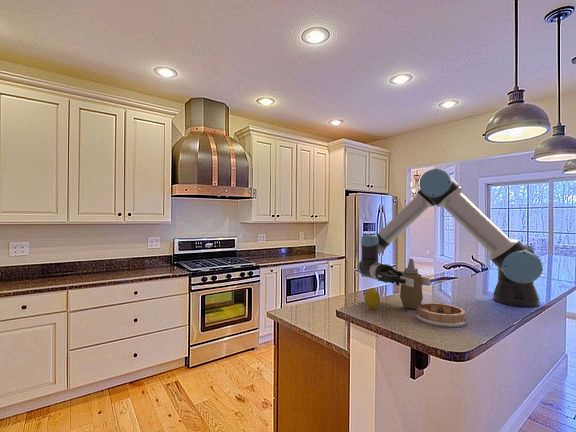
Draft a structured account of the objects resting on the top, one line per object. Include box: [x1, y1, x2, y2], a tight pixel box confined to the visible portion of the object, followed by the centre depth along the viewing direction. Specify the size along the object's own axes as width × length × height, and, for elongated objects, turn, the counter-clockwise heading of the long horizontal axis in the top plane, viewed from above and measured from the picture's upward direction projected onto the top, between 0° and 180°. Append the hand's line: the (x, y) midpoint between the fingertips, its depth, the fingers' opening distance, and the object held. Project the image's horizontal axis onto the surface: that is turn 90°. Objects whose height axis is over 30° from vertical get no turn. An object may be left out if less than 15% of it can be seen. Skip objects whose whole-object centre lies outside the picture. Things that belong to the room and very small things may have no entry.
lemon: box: [364, 287, 381, 310], centre depth 114 cm, size 6×6×8 cm
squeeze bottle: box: [399, 258, 424, 310], centre depth 116 cm, size 8×8×18 cm
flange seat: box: [415, 302, 467, 329], centre depth 102 cm, size 15×15×4 cm
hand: (420, 282), depth 111 cm, fingers closed on squeeze bottle, 6 cm apart
